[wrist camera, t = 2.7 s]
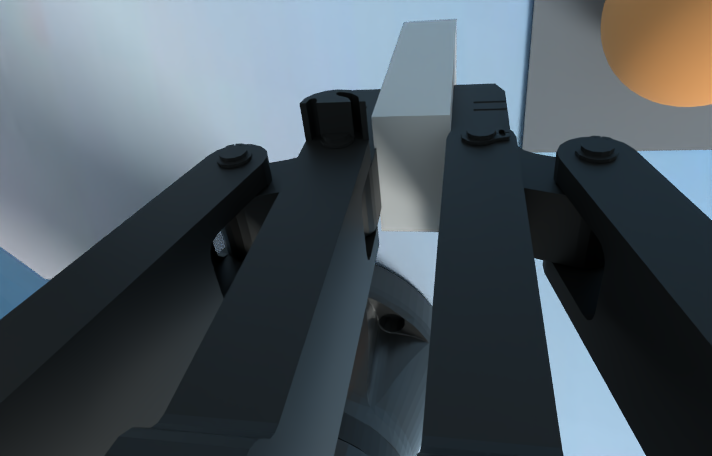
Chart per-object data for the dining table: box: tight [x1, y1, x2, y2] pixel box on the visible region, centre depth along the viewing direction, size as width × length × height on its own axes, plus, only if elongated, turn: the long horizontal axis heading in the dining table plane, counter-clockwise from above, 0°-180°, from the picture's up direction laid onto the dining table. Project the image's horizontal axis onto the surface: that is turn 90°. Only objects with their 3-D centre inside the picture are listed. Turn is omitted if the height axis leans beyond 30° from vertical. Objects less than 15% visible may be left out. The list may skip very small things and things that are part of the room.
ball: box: [601, 0, 712, 107], centre depth 18 cm, size 6×6×6 cm
